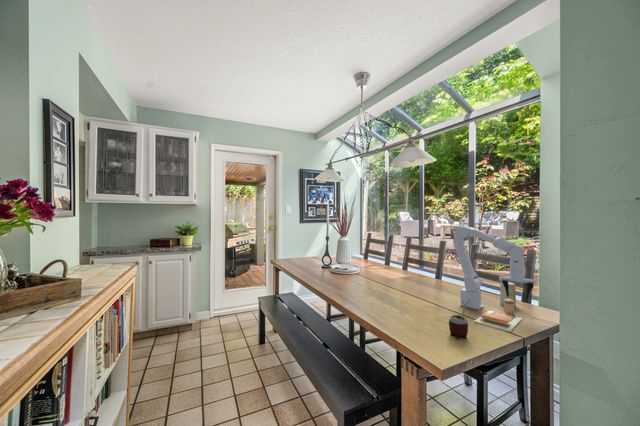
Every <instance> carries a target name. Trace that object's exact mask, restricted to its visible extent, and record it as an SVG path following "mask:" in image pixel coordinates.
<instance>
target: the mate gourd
mask: <svg viewBox="0 0 640 426" xmlns="http://www.w3.org/2000/svg"><path fill="white" fill-rule="evenodd" d="M468 302H469V300H468V301H467V302H466V303H465V305H464V306H463V309H462V313H461V315H459V314H457V315H456V314H454V315H453V314H452V315H451V316H450V318H449V320H448V326H449V331H450V336H453V337H456V340H460V338H462V339H466V340H467V339H468V333H469V323H468V320H467V319H466V318H465V317H464V315H465V311H466V308H467V307H466V305H467V303H468Z"/></svg>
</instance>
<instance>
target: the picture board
mask: <svg viewBox="0 0 640 426" xmlns="http://www.w3.org/2000/svg"><path fill="white" fill-rule="evenodd" d="M485 313H488V314H492V315H496V316H500V317H505V318H509V323H508V324H503V323H499V322H495V321H491V320H488V319H484V318H482V317H481V316H479V317H477V318H476V319H475V320H474V323H476V324H480V325H483V326H487V327H491V328H493V329H498V330H501V331H505V332H509V333H511V332H512V331H513V330H514V329H515V328H516V327H517V326H518V325H519V324H520V322H522V320H523V317H518V316H515V315H507V314H505V313H502V312H497V311H493V310H490V309H489V310H487V311H486V312H485Z"/></svg>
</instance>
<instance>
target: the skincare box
mask: <svg viewBox="0 0 640 426" xmlns="http://www.w3.org/2000/svg"><path fill="white" fill-rule="evenodd" d="M508 284H509V296H507V295H506V290H505V287H504V285H503V283H502V282H500V284H499V285H500V289H499V290H500V292H499V293H500V294H499V296H500V299H499V300H500V301H499V302H500V303H499V304H500V305H502V306H504V307H505V302H504V300H505V299H512V300H514V307H516V304H517V303H516V301H517V298H516V294H517V292H516V291H517V289H516V286H517V284H516V283H515V282H508Z"/></svg>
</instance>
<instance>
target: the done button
mask: <svg viewBox="0 0 640 426" xmlns="http://www.w3.org/2000/svg"><path fill="white" fill-rule="evenodd" d="M480 317H482V318H484V319H488V320H491V321H495V322H499V323H503V324H508V323H509V318H505V317H500V316H496V315H492V314H488V313H486V312H483V313H482V314H481V316H480Z"/></svg>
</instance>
